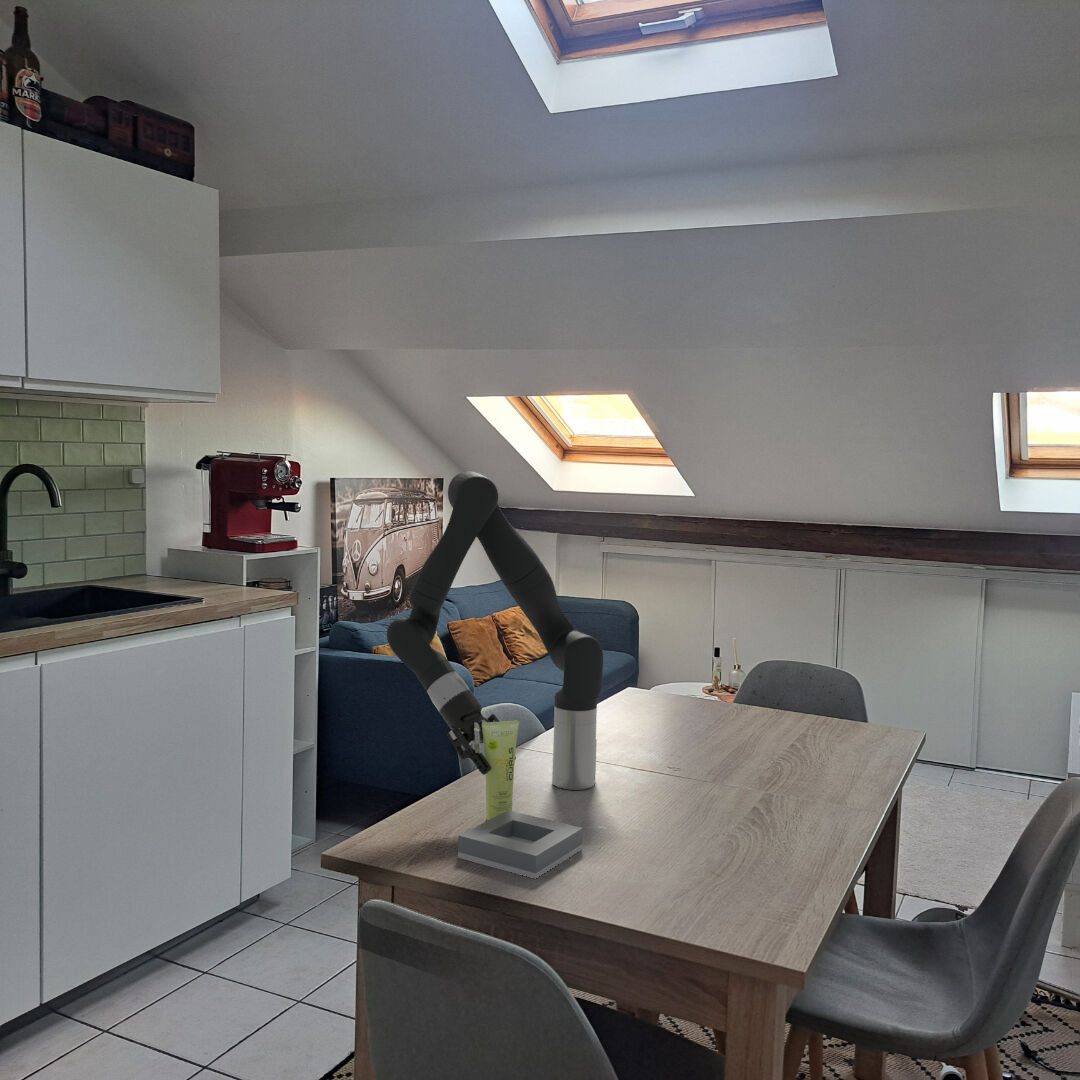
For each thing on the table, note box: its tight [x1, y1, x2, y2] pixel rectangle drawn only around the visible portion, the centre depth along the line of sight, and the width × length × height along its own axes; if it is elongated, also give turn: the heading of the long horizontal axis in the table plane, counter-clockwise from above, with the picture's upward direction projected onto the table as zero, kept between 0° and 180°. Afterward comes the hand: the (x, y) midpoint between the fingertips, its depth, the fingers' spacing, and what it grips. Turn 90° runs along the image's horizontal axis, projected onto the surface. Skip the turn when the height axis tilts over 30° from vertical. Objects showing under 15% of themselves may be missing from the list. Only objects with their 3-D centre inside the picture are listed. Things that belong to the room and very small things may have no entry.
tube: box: [482, 719, 520, 821], centre depth 194 cm, size 6×5×20 cm
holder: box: [457, 810, 584, 880], centre depth 178 cm, size 16×16×4 cm
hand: (500, 766), depth 194 cm, fingers open, 8 cm apart
